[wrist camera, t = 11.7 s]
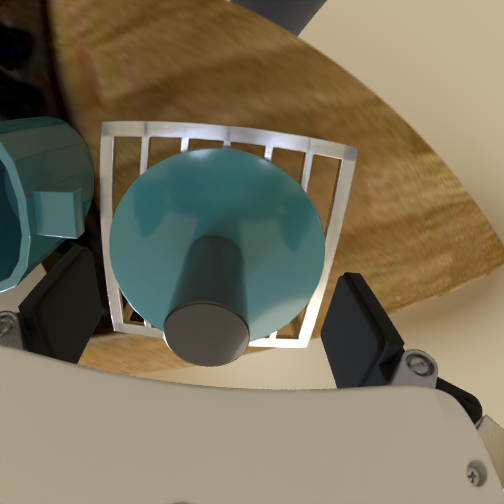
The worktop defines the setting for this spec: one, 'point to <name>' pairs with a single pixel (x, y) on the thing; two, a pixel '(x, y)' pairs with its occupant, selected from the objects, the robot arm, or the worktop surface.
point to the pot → (40, 192)
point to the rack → (227, 135)
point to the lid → (216, 251)
